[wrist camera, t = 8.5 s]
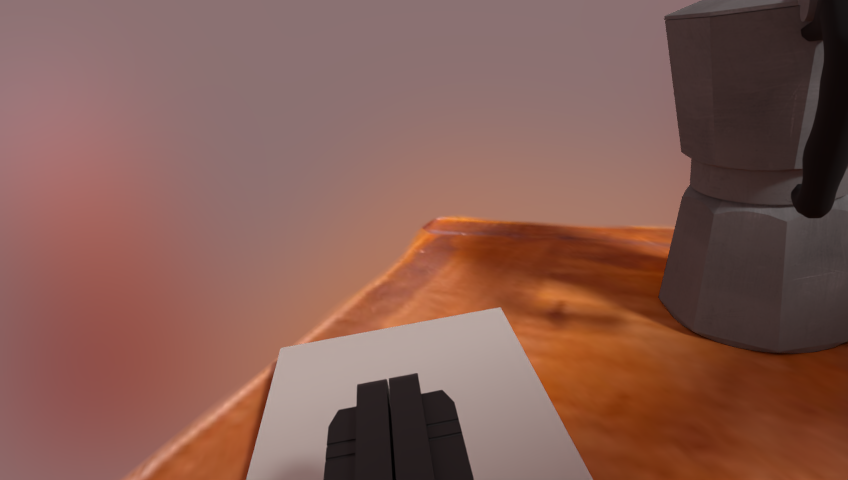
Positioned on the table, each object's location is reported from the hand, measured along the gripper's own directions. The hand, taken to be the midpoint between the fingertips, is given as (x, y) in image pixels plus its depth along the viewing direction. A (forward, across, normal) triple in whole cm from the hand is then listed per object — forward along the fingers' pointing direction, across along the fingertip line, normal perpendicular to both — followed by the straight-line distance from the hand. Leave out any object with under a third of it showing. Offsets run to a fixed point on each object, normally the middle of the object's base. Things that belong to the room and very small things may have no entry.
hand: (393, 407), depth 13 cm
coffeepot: (+11, -18, +8) cm, 23 cm away
